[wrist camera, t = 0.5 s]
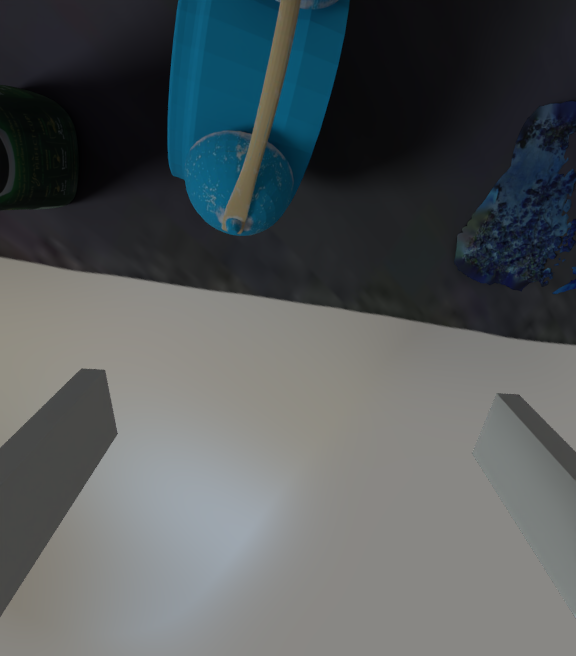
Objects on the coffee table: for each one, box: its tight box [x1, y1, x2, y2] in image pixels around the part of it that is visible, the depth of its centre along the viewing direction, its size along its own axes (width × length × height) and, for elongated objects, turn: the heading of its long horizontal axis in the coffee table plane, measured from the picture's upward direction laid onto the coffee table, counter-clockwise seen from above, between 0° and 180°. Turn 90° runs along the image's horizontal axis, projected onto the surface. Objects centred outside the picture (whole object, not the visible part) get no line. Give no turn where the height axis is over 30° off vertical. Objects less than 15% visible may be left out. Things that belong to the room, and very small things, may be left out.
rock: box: [454, 101, 576, 294], centre depth 34 cm, size 15×17×2 cm
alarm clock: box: [168, 0, 350, 236], centre depth 22 cm, size 17×10×20 cm, turn 164°
